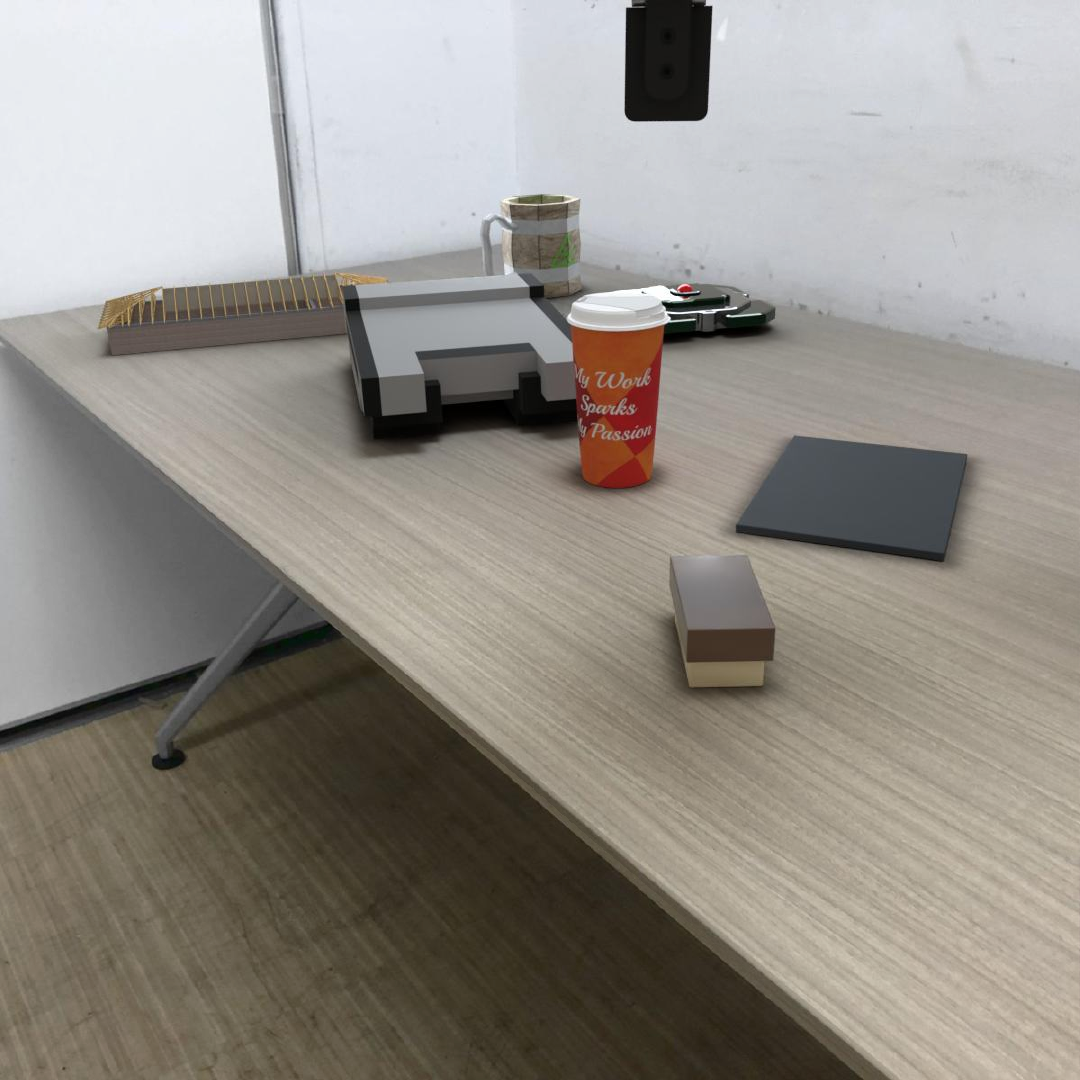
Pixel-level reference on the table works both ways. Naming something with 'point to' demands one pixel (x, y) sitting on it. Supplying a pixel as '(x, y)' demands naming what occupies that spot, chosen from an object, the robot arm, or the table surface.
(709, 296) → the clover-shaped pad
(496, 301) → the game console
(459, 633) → the table surface
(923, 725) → the table surface
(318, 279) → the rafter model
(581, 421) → the paper cup
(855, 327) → the table surface
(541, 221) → the mug
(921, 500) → the mat
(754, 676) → the scrubber
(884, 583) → the table surface
